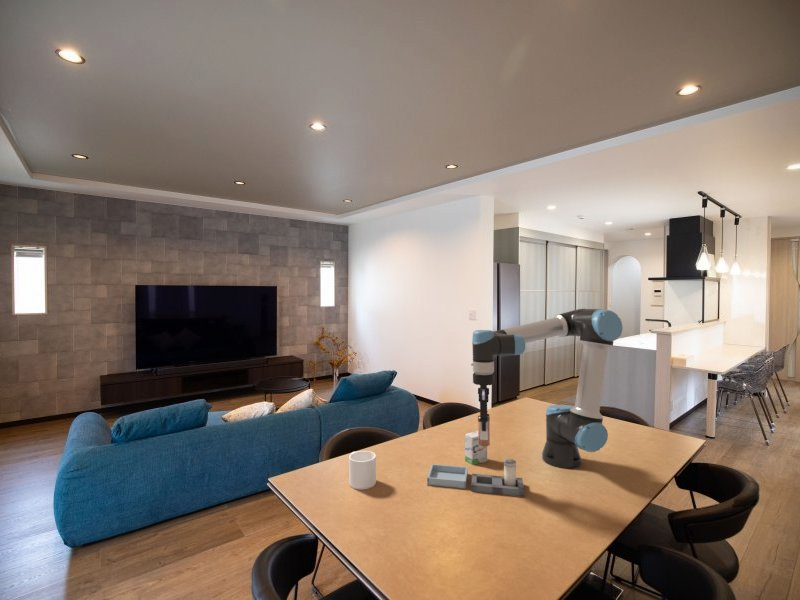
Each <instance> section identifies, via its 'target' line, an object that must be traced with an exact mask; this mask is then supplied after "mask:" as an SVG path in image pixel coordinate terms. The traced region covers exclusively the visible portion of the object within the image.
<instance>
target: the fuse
mask: <svg viewBox="0 0 800 600" xmlns="http://www.w3.org/2000/svg"><path fill="white" fill-rule="evenodd" d="M516 468H517V460H515V459H513V458H505V459H503V476H504V486H512V487H516V478H517V471H516V470H517V469H516Z"/></svg>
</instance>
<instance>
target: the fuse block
mask: <svg viewBox="0 0 800 600" xmlns="http://www.w3.org/2000/svg"><path fill="white" fill-rule="evenodd" d="M470 486H471V487H470V491H471V492H473V493H481V494H492V495H502V496H510V497H511V496H512V497H523V498H525V486H524V480H523V477H516V487H512V486H504V475H494V474H493V475H492V474H481V473H480V474H479V473H472V475H471V484H470Z"/></svg>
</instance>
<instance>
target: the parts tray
mask: <svg viewBox="0 0 800 600" xmlns="http://www.w3.org/2000/svg"><path fill="white" fill-rule="evenodd" d="M468 470H469V469H468V466H460V465H459V466H457V465H446V464H436V463H432V464H431V466H430V469H429V471H428V475H427V478H426V480H427V482H426V484H427V487H429V486H431V487H432V486H433V487H434V486H435V487H442V488H453V489H463V490H466V489H467V480H468Z"/></svg>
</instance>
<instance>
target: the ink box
mask: <svg viewBox="0 0 800 600" xmlns="http://www.w3.org/2000/svg"><path fill="white" fill-rule="evenodd" d="M464 455H465V456H464V460H465V461H464V462H466V463H468V464H470V465H471V466H473V465H476V464H482V463H486V461H487V462H488V446H480V445H479V442H478V430H476V431H472V432H468V433H465V434H464Z"/></svg>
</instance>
